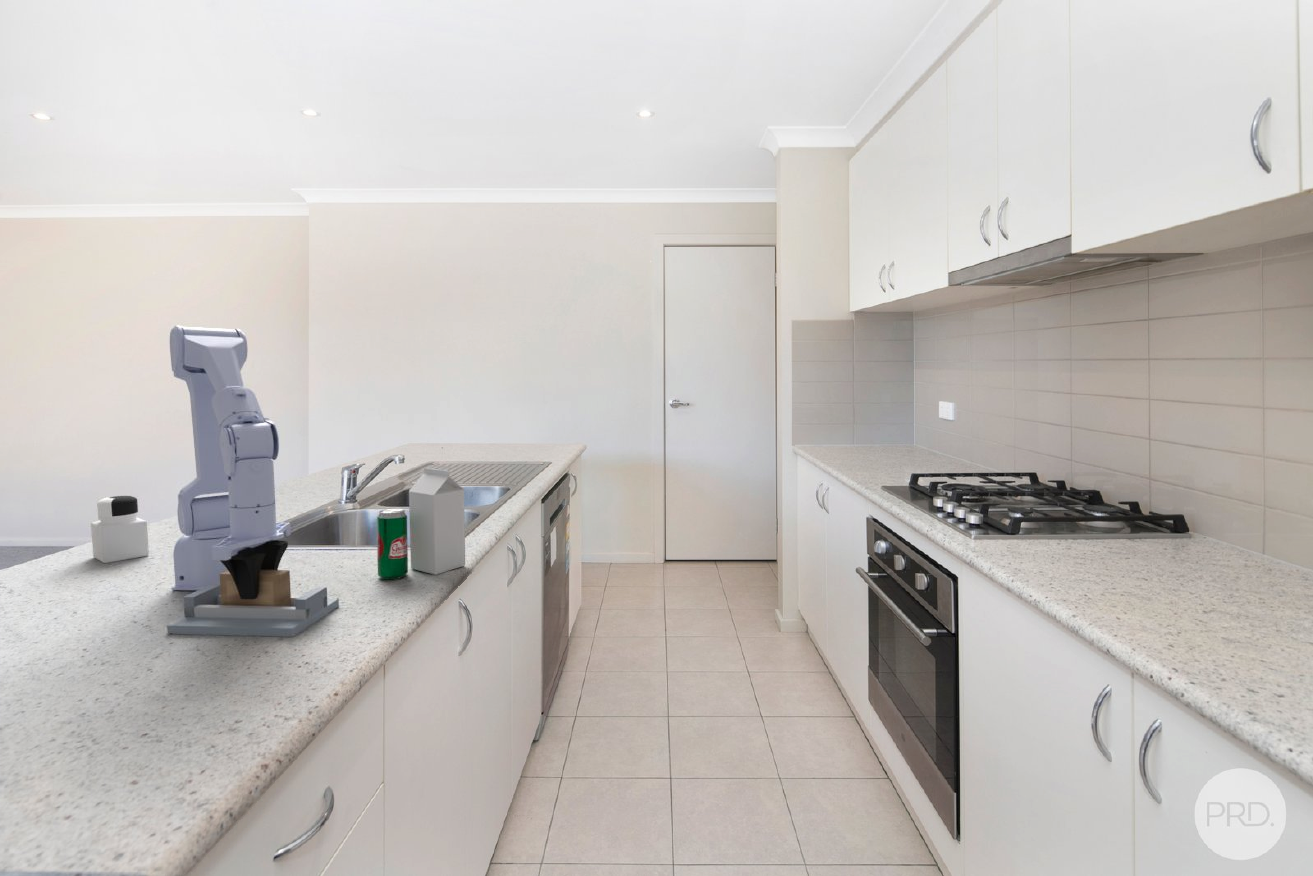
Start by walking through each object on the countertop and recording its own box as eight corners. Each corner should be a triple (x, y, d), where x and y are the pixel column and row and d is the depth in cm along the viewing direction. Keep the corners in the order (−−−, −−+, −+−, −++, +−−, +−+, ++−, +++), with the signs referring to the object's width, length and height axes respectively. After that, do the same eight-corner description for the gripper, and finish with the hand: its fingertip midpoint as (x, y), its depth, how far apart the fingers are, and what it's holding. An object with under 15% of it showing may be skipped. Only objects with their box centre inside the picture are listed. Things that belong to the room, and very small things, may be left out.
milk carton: (435, 575, 116) (433, 473, 114) (410, 569, 120) (407, 469, 118) (465, 566, 122) (464, 468, 120) (441, 560, 126) (439, 465, 124)
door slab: (221, 613, 93) (219, 574, 93) (233, 607, 96) (231, 569, 95) (281, 615, 93) (279, 575, 92) (291, 608, 95) (289, 570, 95)
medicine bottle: (137, 549, 131) (133, 492, 130) (149, 555, 127) (145, 496, 125) (92, 557, 125) (88, 497, 124) (103, 564, 121) (99, 502, 120)
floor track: (167, 633, 89) (165, 604, 88) (227, 603, 101) (226, 577, 100) (293, 636, 88) (291, 607, 88) (338, 606, 100) (337, 580, 100)
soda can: (393, 581, 112) (392, 513, 111) (371, 578, 113) (370, 512, 113) (414, 574, 116) (413, 509, 116) (392, 571, 118) (391, 508, 118)
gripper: (245, 515, 85) (250, 612, 87) (308, 495, 100) (311, 579, 101) (194, 514, 86) (200, 611, 87) (264, 495, 100) (268, 578, 101)
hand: (257, 594), depth 94 cm, fingers open, 3 cm apart
